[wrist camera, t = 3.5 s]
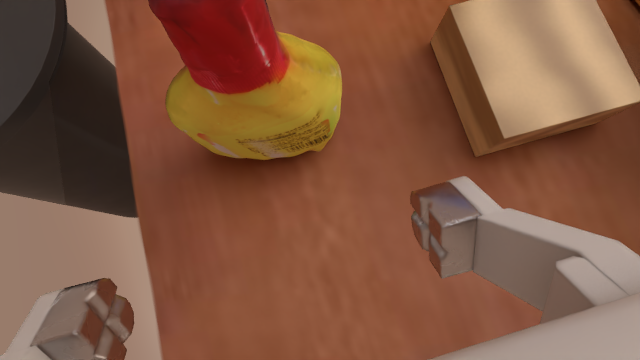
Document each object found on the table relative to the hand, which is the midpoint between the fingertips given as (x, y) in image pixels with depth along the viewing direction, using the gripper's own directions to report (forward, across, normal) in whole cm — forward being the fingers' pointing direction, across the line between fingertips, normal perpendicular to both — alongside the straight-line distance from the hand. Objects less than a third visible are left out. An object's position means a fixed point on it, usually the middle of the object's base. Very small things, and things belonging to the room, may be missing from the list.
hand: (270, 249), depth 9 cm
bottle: (+22, 0, +7) cm, 23 cm away
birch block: (+21, -23, +7) cm, 32 cm away
